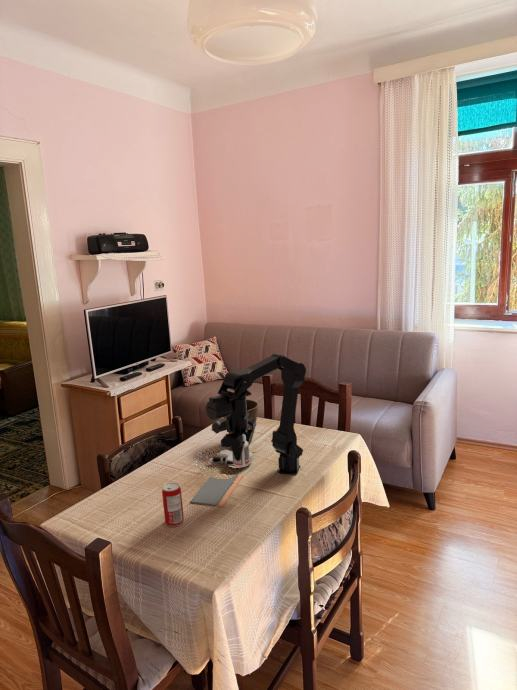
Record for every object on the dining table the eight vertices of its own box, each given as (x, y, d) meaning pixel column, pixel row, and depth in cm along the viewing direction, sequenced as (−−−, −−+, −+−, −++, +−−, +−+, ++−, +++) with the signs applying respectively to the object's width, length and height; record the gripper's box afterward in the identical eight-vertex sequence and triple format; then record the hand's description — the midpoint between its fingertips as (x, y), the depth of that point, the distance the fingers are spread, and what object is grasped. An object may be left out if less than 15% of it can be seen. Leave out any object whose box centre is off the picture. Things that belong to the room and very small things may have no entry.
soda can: (173, 515, 150) (169, 479, 148) (187, 519, 147) (184, 483, 145) (161, 524, 146) (157, 487, 143) (175, 529, 143) (172, 491, 140)
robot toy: (207, 467, 182) (238, 475, 173) (205, 456, 182) (237, 463, 172) (228, 455, 192) (259, 461, 183) (227, 444, 191) (257, 450, 182)
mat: (237, 476, 173) (237, 474, 173) (216, 506, 154) (216, 504, 154) (213, 473, 175) (213, 472, 175) (190, 502, 157) (190, 501, 157)
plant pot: (216, 445, 199) (213, 408, 195) (237, 432, 211) (234, 397, 208) (247, 452, 191) (244, 413, 188) (266, 438, 203) (264, 402, 200)
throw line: (243, 476, 172) (243, 475, 172) (222, 506, 153) (222, 505, 153) (239, 476, 172) (239, 474, 172) (219, 506, 154) (218, 504, 154)
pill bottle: (245, 458, 163) (243, 431, 161) (252, 465, 158) (250, 436, 156) (230, 462, 161) (228, 434, 158) (237, 469, 156) (235, 440, 154)
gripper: (224, 400, 167) (227, 443, 170) (203, 420, 149) (206, 467, 152) (255, 401, 163) (257, 445, 167) (237, 422, 146) (240, 470, 149)
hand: (240, 456), depth 159 cm, fingers closed on pill bottle, 5 cm apart
